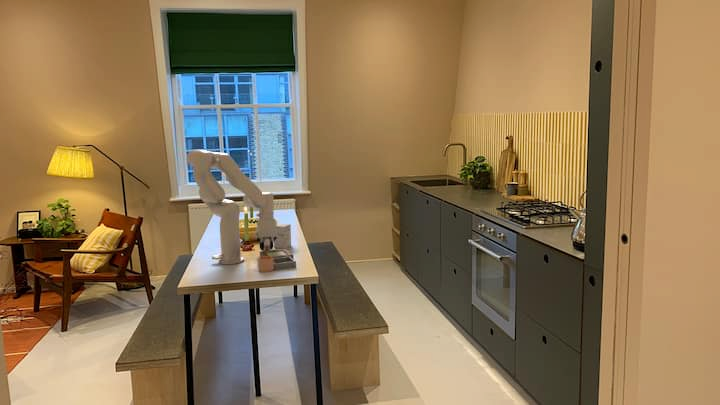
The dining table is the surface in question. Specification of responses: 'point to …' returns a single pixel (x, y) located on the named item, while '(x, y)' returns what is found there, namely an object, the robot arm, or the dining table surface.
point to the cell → (266, 244)
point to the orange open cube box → (265, 264)
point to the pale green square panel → (276, 253)
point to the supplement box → (283, 236)
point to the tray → (284, 263)
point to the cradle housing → (277, 255)
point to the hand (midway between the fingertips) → (266, 249)
